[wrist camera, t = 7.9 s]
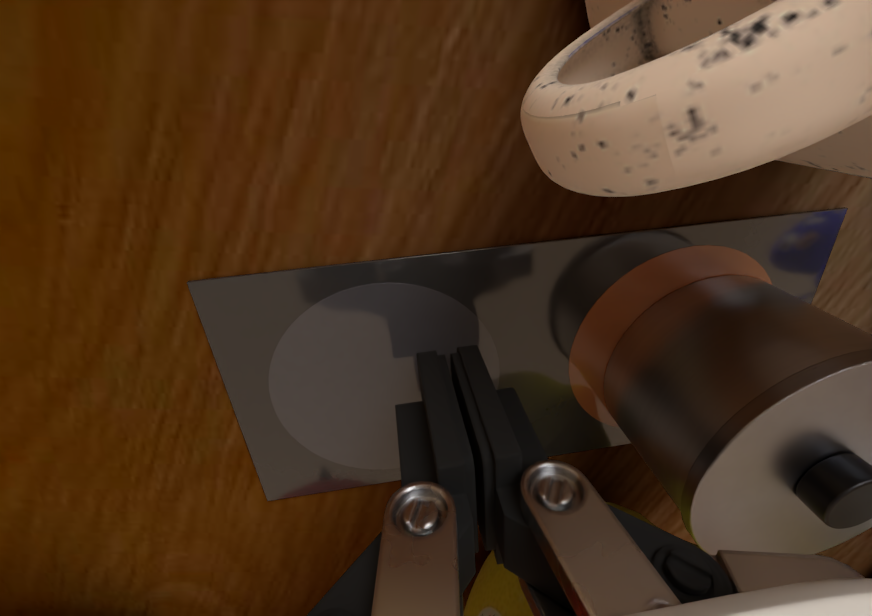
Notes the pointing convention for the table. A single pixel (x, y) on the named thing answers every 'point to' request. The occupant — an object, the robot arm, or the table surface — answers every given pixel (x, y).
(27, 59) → the table surface
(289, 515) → the table surface
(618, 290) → the hob
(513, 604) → the lemon
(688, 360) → the pot
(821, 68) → the teacup with lid
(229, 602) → the table surface
